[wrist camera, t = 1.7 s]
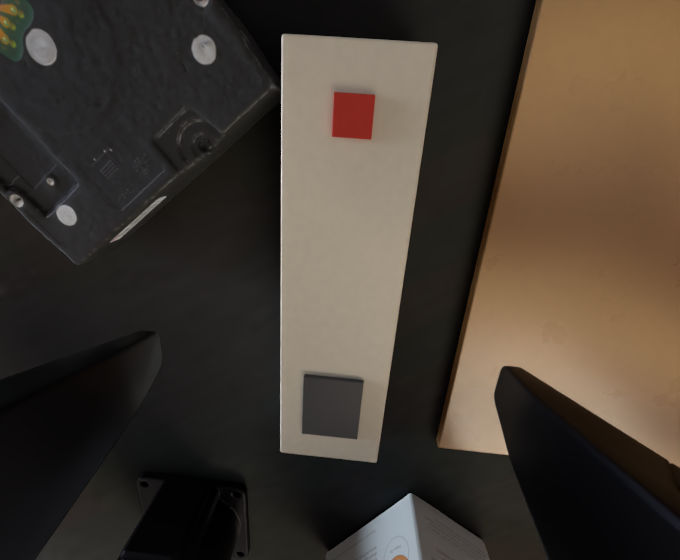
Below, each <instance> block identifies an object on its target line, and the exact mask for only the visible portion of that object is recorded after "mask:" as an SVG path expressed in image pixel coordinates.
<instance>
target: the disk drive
mask: <svg viewBox="0 0 680 560" xmlns="http://www.w3.org/2000/svg"><path fill="white" fill-rule="evenodd" d="M280 102H281V81H280V80H279V77H278V76H277V75H276V73H275V72H274V70H273V68H272V67H271V66H270V64H269V63H268V62H267V60H266V59H265V55H264V53H263V52H262V51H261V49H260V48H259V46H258V45H257V43H256V42H255V40H254V39H253V37H252V36H251V34H250V33H249V31H248V30H247V29H246V27H245V26H244V25H243V24H242V22H241V21H240V19H239V18H238V17H236V16H235V15H234V14H233V12H232V11H231V9H230V8H229V7H228V5H227V4H226V3H225V1H224V0H0V193H1V194H2V195H3V196H4V197H5V198H7V199H8V201H9V202H10V203H12V204H13V205H14V206H15V208H16V209H17V210H18V211H19V212H21V214H22V215H23V216H24V217H25V218H26V219H27V220H28V221H29V223H30V224H32V225H33V226H34V227H35V228H36V229H37V230H38V231H39V232H40V233H42V234H43V236H45V237H46V238H47V239H48V240H50V241H51V242H52V243H53V244H54V245H55V246H56V247H57V248H58V249H59V250H61V251H62V252H64V253H65V254H66V255H67V256H68V257H69V258H70V259H71V260H72V262H73V263H75V264H78V265H81V264H84V263H86V262H88V261H91V260H93V259H95V258H97V257H100V256H102V255H104V254H106V253H108V252H110V251H113V250H115V249H117V248H118V247H119V246H120V245H121V244H122V243H123V242H125V241H126V240H127V239H129V237H130V236H131V235H132V234H133V233H135V231H136V230H137V229H138V228H140V227H141V226H142V225H144V224H145V223H146V222H147V221H149V220H150V219H151V218H152V217H153V216H154V215H155V214H157V213H158V212H159V210H160V209H161V208H163V207H164V206H165V205H166V204H167V203H168V202H169V201H171V200H172V199H173V198H174V197H175V196H176V195H177V194H179V193H180V192H181V191H182V190H183V189H184V188H186V186H188V185H189V184H190V183H191V182H192V181H193V180H194V179H195V178H196V177H197V176H199V175H200V174H201V173H202V172H203V171H204V170H205V169H207V168H208V167H209V166H210V165H211V164H212V163H213V162H215V161H216V160H217V159H218V158H219V157H220V156H222V155H223V153H225V152H226V151H227V150H228V149H229V148H230V147H232V146H233V145H234V144H235V143H236V142H237V141H238V140H239V139H240V138H241V137H242V136H243V135H245V134H246V133H247V132H248V131H249V130H250V129H251V128H252V126H253V125H255V124H256V123H257V122H258V121H259V120H260V119H261V118H263V116H264V115H265V114H266V113H268V112H269V111H271V110H272V109H273V108H274V107H275V106H277V105H278V104H279V103H280Z"/></svg>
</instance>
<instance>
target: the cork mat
mask: <svg viewBox="0 0 680 560" xmlns="http://www.w3.org/2000/svg"><path fill="white" fill-rule="evenodd" d="M504 366H515V367H521V368H523V369H524V370H526V371H527V372H529V373H530V374H532V375H534V376H535V377H537V378H538V379H540V380H542V381H543V382H545V383H546V384H548V385H549V386H551V387H553V388H554V389H556V390H557V391H559V392H561V393H562V394H564V395H565V396H567V397H568V398H570V399H572V400H573V401H575V402H576V403H578V404H580V405H581V406H583V407H584V408H586V409H587V410H589V411H591V412H592V413H594V414H595V415H597V416H599V417H600V418H602V419H603V420H605V421H607V422H608V423H610V424H611V425H613V426H614V427H616V428H618V429H619V430H621V431H622V432H624V433H626V434H627V435H629V436H630V437H632V438H633V439H635V440H637V441H638V442H640V443H641V444H643V445H645V446H646V447H648V448H649V449H651V450H653V451H654V452H656V453H657V454H659V455H660V456H662V457H664V458H665V459H667V460H668V461H669V463H673V464H675V465H676V466H678V467H680V0H536V4H535V8H534V12H533V17H532V21H531V26H530V30H529V34H528V39H527V43H526V48H525V52H524V56H523V61H522V65H521V69H520V74H519V78H518V83H517V87H516V91H515V96H514V100H513V105H512V109H511V113H510V118H509V122H508V127H507V131H506V135H505V140H504V144H503V148H502V153H501V157H500V162H499V166H498V170H497V175H496V179H495V184H494V188H493V192H492V197H491V201H490V206H489V210H488V214H487V219H486V223H485V227H484V232H483V236H482V241H481V245H480V249H479V254H478V258H477V263H476V267H475V271H474V276H473V280H472V284H471V289H470V293H469V298H468V302H467V306H466V311H465V315H464V320H463V324H462V328H461V333H460V337H459V342H458V346H457V350H456V355H455V359H454V363H453V368H452V372H451V377H450V381H449V385H448V390H447V394H446V399H445V403H444V407H443V412H442V416H441V421H440V425H439V429H438V434H437V438H436V440H437V444H438V447H439V448H447V449H456V450H465V451H474V452H484V453H493V454H502V455H509V454H508V451H507V447H506V443H505V440H504V436H503V432H502V428H501V424H500V420H499V416H498V413H497V409H496V405H495V401H494V392H495V388H496V384H497V381H498V377H499V374H500V371H501V369H502V367H504Z"/></svg>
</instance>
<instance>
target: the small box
mask: <svg viewBox="0 0 680 560" xmlns="http://www.w3.org/2000/svg"><path fill="white" fill-rule="evenodd" d="M326 560H489V556H488V553H487V550H486V547H485V544H484V543H483V541H482V540H481V539H480V538H478V537H477V536H475V535H474V534H472V533H471V532H469V531H468V530H466V529H465V528H463V527H462V526H460V525H459V524H457V523H456V522H454V521H453V520H451V519H450V518H448V517H447V516H445V515H444V514H443V513H441V512H440V511H438V510H437V509H435V508H434V507H432V506H431V505H429V504H428V503H426V502H425V501H423V500H422V499H420V498H419V497H417V496H416V495H414V494H412V493H410V494H408V495H407V496H405V497H404V498H403V499H402V500H400V501H399V502H397V503H396V504H395V505H393V506H392V507H390V508H389V509H388V510H386V511H385V512H383V513H382V514H381V515H379V516H378V517H376V518H375V519H374V520H372V521H371V522H369V523H368V524H367V525H365V526H364V527H362V528H361V529H360V530H358V531H357V532H355V533H354V534H353V535H351V536H350V537H348V538H347V539H346V540H344V541H343V542H341V543H340V544H339V545H337V546H336V547H334V548H333V549H332V550H330V551H329V552H327V553H326Z"/></svg>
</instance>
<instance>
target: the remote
mask: <svg viewBox="0 0 680 560" xmlns="http://www.w3.org/2000/svg"><path fill="white" fill-rule="evenodd" d="M437 49H438V45H437V43H431V42H414V41H398V40H382V39H365V38H349V37H332V36H316V35H299V34H282V37H281V339H280V451H281V452H282V453H291V454H300V455H309V456H318V457H328V458H337V459H346V460H355V461H364V462H373V463H376V462H377V457H378V450H379V443H380V437H381V430H382V423H383V416H384V409H385V403H386V396H387V389H388V382H389V375H390V369H391V362H392V355H393V348H394V341H395V335H396V328H397V321H398V314H399V307H400V301H401V294H402V287H403V280H404V273H405V267H406V260H407V253H408V246H409V239H410V233H411V226H412V219H413V212H414V205H415V199H416V192H417V185H418V178H419V171H420V165H421V158H422V151H423V144H424V137H425V131H426V124H427V117H428V110H429V103H430V97H431V90H432V83H433V76H434V69H435V63H436V56H437Z"/></svg>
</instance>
